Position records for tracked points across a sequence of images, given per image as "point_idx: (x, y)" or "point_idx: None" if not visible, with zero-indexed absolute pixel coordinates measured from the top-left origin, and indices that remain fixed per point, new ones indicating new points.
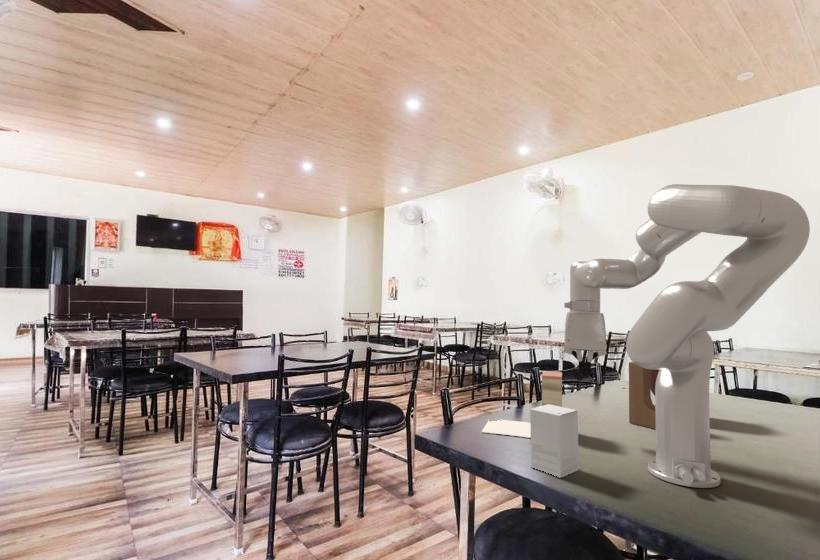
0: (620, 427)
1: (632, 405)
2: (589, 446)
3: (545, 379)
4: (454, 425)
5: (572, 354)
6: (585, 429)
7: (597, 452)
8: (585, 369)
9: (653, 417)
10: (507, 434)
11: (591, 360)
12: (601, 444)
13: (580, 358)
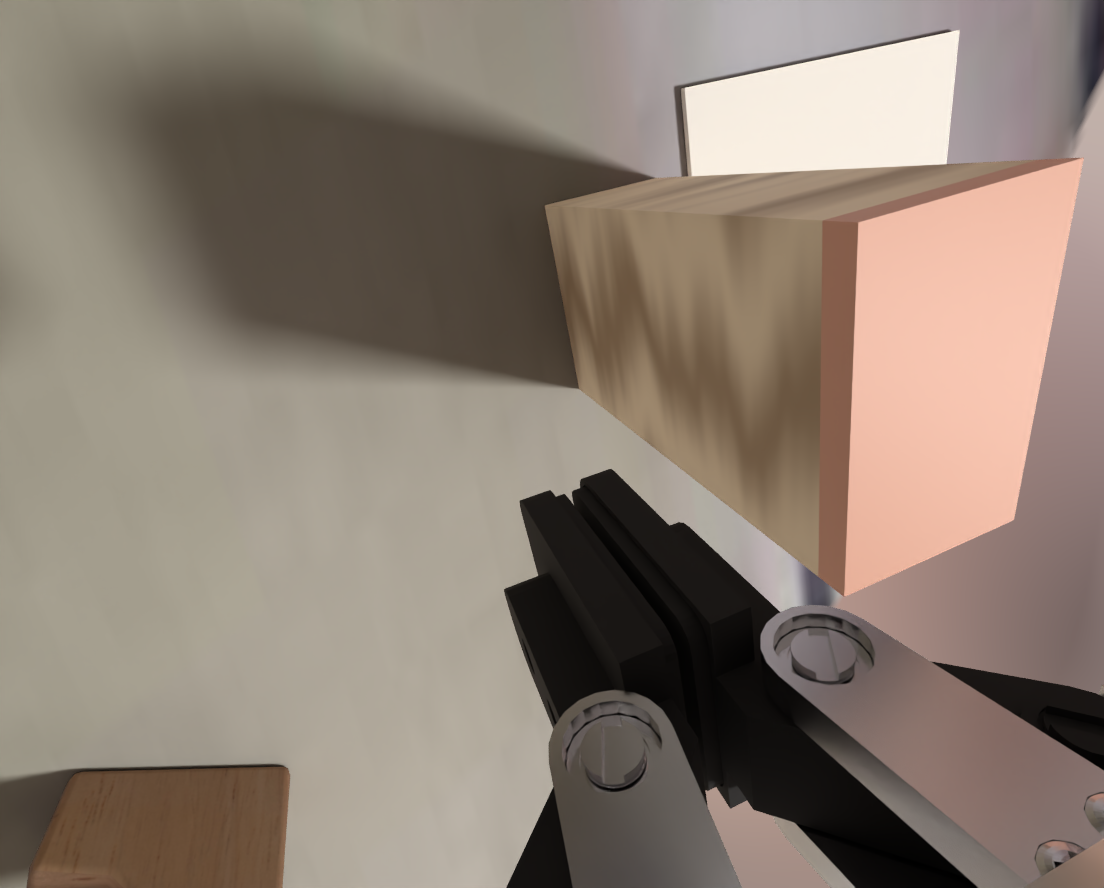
0: (308, 665)
1: (254, 875)
2: (353, 136)
3: (991, 168)
4: (1071, 98)
5: (1068, 689)
6: (469, 493)
7: (261, 9)
8: (602, 553)
9: (103, 835)
10: (832, 61)
11: (567, 769)
12: (298, 238)
13: (830, 675)
